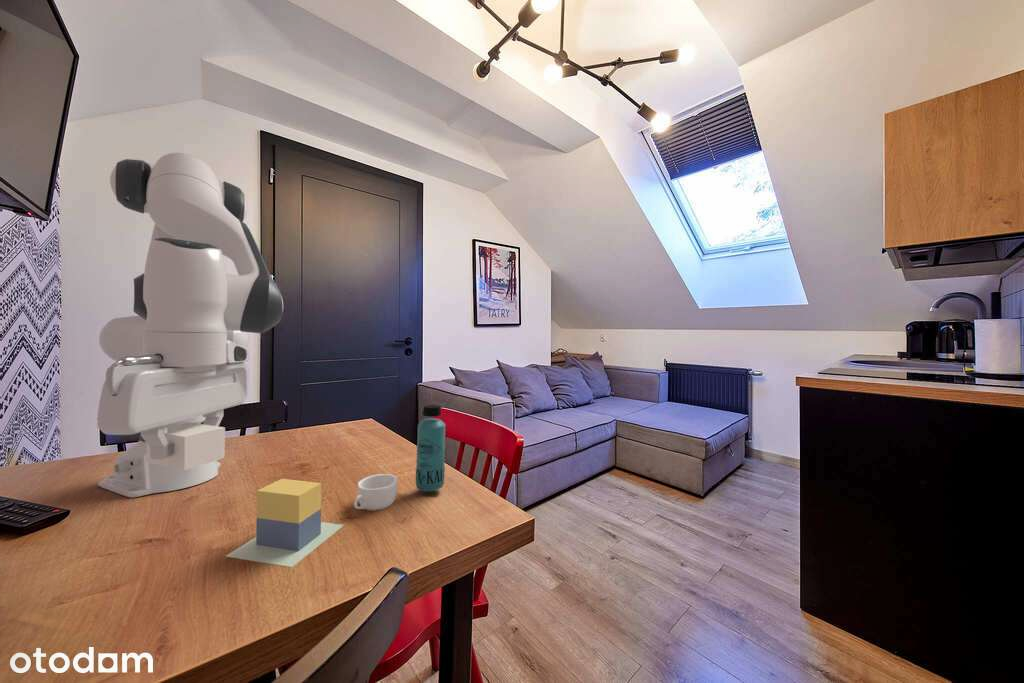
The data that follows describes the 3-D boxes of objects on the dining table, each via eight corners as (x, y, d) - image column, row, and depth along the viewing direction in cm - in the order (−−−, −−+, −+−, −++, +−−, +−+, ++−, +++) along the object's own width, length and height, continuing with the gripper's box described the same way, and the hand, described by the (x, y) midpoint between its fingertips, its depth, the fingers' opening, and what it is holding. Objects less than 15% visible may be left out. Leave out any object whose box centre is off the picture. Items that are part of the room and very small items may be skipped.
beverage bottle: (417, 486, 84) (419, 402, 83) (446, 485, 84) (447, 402, 84) (412, 498, 77) (414, 408, 77) (443, 498, 78) (445, 408, 77)
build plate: (225, 561, 55) (225, 556, 55) (287, 521, 67) (287, 517, 67) (291, 572, 53) (292, 567, 53) (343, 529, 65) (343, 524, 65)
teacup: (376, 495, 78) (377, 471, 78) (404, 502, 76) (405, 477, 75) (339, 516, 69) (340, 489, 69) (369, 525, 66) (370, 497, 66)
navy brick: (256, 544, 58) (256, 517, 58) (281, 528, 63) (281, 503, 63) (298, 551, 57) (298, 523, 57) (320, 534, 62) (321, 508, 61)
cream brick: (146, 462, 49) (146, 430, 49) (187, 451, 54) (188, 422, 54) (184, 470, 47) (184, 436, 47) (224, 457, 52) (225, 427, 52)
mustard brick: (256, 517, 58) (256, 490, 58) (281, 503, 63) (281, 478, 63) (298, 523, 57) (299, 495, 56) (321, 508, 61) (321, 483, 61)
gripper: (137, 357, 40) (136, 478, 40) (257, 350, 61) (256, 429, 61) (78, 356, 40) (78, 477, 40) (218, 349, 60) (217, 429, 60)
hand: (186, 448), depth 51 cm, fingers closed on cream brick, 6 cm apart
